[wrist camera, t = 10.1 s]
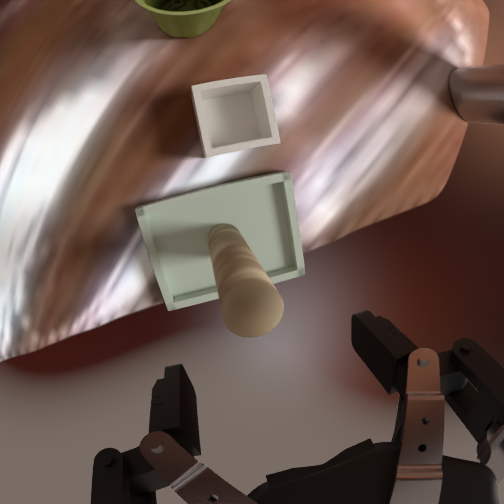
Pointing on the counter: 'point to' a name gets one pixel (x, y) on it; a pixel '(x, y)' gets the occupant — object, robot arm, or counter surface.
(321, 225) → the counter surface
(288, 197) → the tray
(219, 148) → the white open box
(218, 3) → the plant pot
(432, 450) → the robot arm
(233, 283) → the dowel
